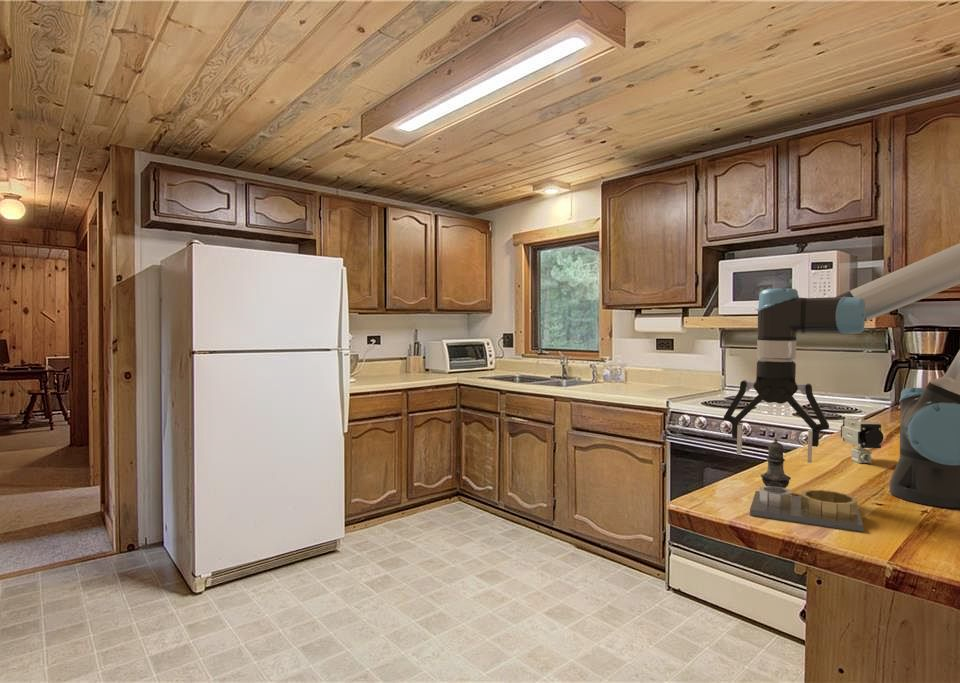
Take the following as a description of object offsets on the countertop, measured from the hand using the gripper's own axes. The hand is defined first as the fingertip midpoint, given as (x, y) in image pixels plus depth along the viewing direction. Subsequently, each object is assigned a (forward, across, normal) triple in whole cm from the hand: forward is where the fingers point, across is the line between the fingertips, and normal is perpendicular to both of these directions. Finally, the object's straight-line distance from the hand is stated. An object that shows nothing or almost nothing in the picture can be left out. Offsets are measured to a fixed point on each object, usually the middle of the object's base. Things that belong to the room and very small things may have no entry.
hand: (773, 457), depth 122 cm
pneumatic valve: (+8, -19, -42) cm, 47 cm away
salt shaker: (+8, -1, 0) cm, 8 cm away
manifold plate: (+8, -6, +12) cm, 15 cm away
